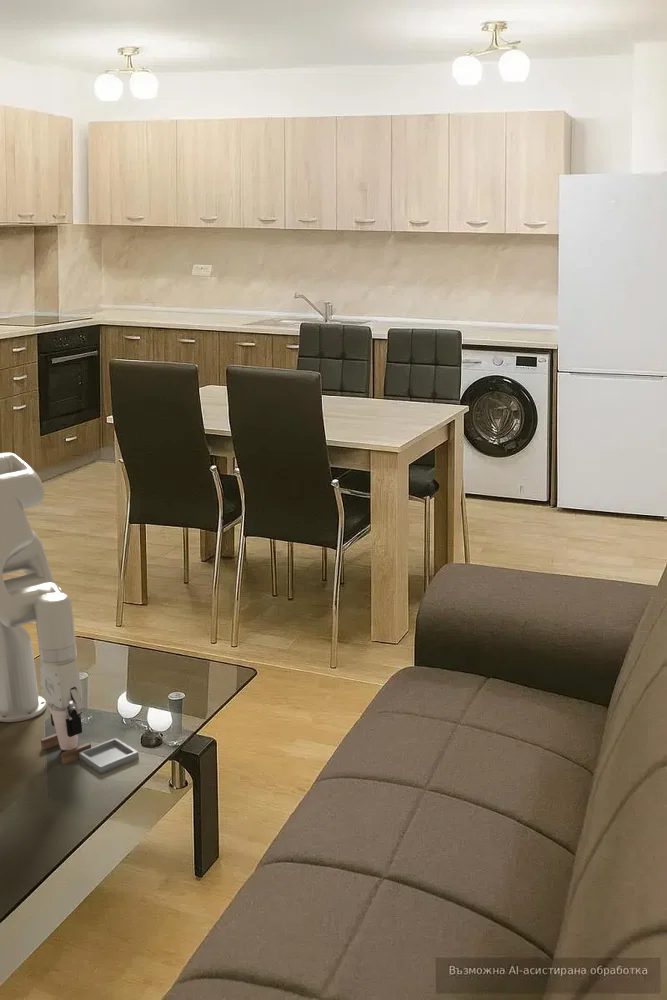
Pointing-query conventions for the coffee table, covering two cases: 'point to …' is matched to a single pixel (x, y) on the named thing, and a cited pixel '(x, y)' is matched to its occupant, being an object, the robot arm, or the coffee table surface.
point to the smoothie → (63, 727)
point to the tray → (108, 755)
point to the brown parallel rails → (67, 755)
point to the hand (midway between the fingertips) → (66, 728)
